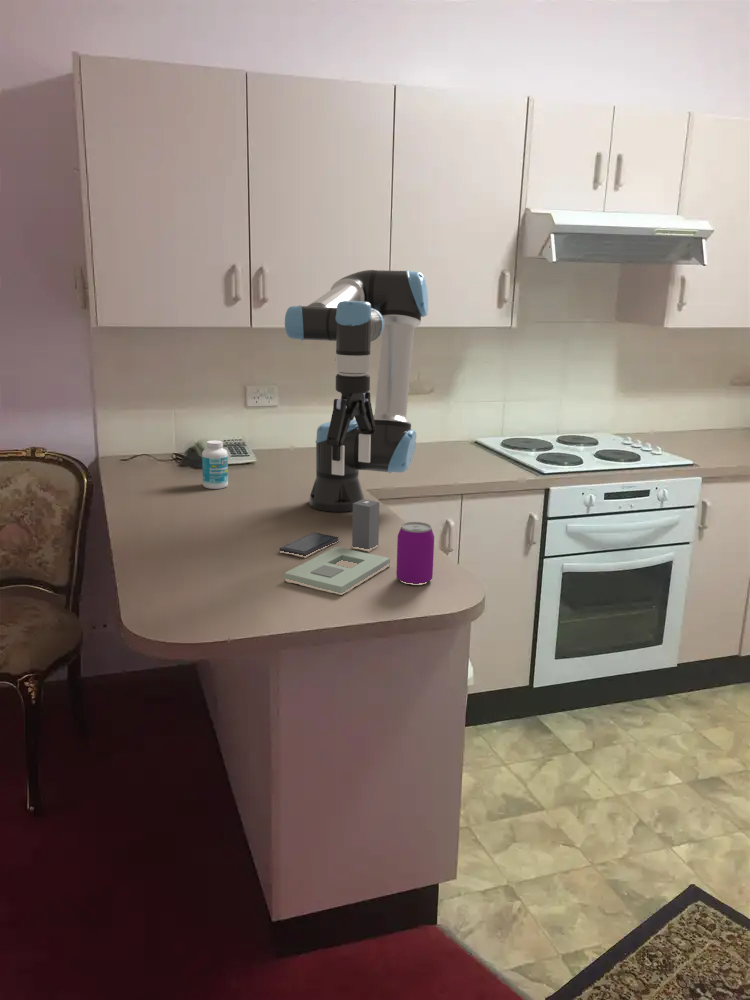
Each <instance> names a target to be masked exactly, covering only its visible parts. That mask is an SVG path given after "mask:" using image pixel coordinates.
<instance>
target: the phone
mask: <svg viewBox="0 0 750 1000" xmlns="http://www.w3.org/2000/svg"><path fill="white" fill-rule="evenodd" d="M337 541H338V542H339V536H335V535H334V536H333V535H329V534H325V533H324V534H323V533H318V532H311V533H309V534H306V535H305V536H303V537H301V538H298V539H296V540H293V541H291V542H289V543H287V544H285V545H283V546H281V547H279V552H280V551H284V552H289V553H294V554H299V555H303V556H306V555H308V554H310V553H312V552H314V551H316V550H318V549H321V548H323V547H325V546H328V545H330V544H332V543H335V542H337ZM338 542H337V543H338ZM335 544H336V543H335Z"/></svg>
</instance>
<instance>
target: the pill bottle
mask: <svg viewBox="0 0 750 1000" xmlns="http://www.w3.org/2000/svg"><path fill="white" fill-rule="evenodd" d="M223 446H224V442H223V441H222V440H208V441H206V447H207V448H205V449H203V451H202V453H201V461H202V467H201V468H202V486H203V487H204V488H206V489H209V490H210V489H211V490H219V489H220V490H221V489H225V488H226V487H228V485H229V463H228V462H229V455H228V451H227V449H225V448H223Z"/></svg>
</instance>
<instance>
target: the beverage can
mask: <svg viewBox="0 0 750 1000" xmlns="http://www.w3.org/2000/svg"><path fill="white" fill-rule="evenodd" d="M396 540H397V545H396V547H397V548H396V575H395V576H396V579H397V580H398V579H399V580H401V581H403V582H406V583H413V584H419V583H425V582H428V581H429V582H430V580H431V579H432V580H433V575H434V553H435V534H434V531H433V529H432V525H430V524H429V523H427V522H421V521H409V522H405V523H403V524H401V527H400V529H399V531H398V534H397V539H396ZM399 580H398V581H399ZM432 580H431V581H432ZM429 582H428V583H429Z"/></svg>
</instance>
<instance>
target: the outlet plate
mask: <svg viewBox="0 0 750 1000" xmlns="http://www.w3.org/2000/svg"><path fill="white" fill-rule="evenodd" d="M341 560H343V561H348V562H353V563H357V565H356V566H354V567H352V568H348V567H344V566H339V565H335V564H336V563H337V562H339V561H341ZM389 563H390V564H391V558H390V557H386V556H382V555H376V554H373V553H369V552H364V551H360V550H355V549H348V548H344V547H341V546H335V547H333V548H331V549H329V550H327V551H325V552H322V554H319V555H317V556H315V557H313V558H311V559H310V560H307V561H305V562H303V563H301V564H299V565H297V566H295V567H293V568H292V569H289V570H288V571H285V572H284V573H283V574H284V576H283V577H284V578H285V579H289V580H293V581H297V582H300V583H304V584H307V585H311V586H314V587H318V588H322V589H326V590H331V591H334V592H338V593H343V592H345V591H346V590H348V589H350V588H351V587H352V586H354V585H355V584H357V583H359V582H360V581H362V580H364V579H365V578H367V577H368V576H370V575H372V574H373V573H375V572H377V571H378V570H380V569H381V568H383V567H384V566H386V565H387V564H389Z"/></svg>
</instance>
